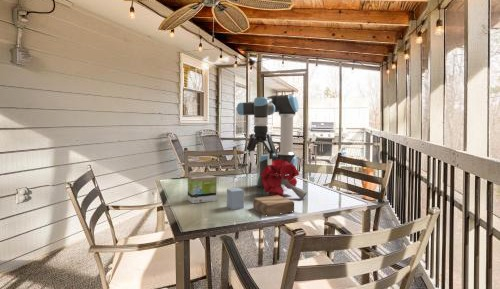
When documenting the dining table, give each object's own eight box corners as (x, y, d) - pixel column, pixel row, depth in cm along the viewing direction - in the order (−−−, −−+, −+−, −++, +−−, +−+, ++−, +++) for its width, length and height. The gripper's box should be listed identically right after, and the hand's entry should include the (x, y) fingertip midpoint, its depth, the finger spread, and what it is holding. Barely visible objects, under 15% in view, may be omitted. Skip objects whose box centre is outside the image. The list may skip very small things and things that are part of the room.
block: (227, 206, 175) (226, 188, 174) (238, 204, 178) (238, 187, 178) (232, 209, 169) (231, 191, 168) (243, 208, 172) (243, 190, 171)
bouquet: (302, 204, 204) (266, 177, 215) (320, 175, 195) (281, 149, 206) (288, 215, 186) (250, 185, 197) (307, 183, 177) (265, 154, 188)
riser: (253, 208, 172) (253, 198, 172) (278, 205, 179) (278, 194, 179) (267, 217, 158) (267, 205, 157) (294, 212, 165) (294, 201, 164)
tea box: (192, 204, 180) (192, 178, 179) (187, 200, 189) (187, 175, 188) (217, 200, 187) (216, 176, 186) (211, 197, 196) (210, 173, 195)
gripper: (240, 125, 180) (240, 162, 181) (273, 126, 162) (273, 166, 164) (249, 125, 185) (249, 161, 187) (282, 125, 167) (282, 165, 169)
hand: (260, 163), depth 175 cm, fingers open, 13 cm apart
